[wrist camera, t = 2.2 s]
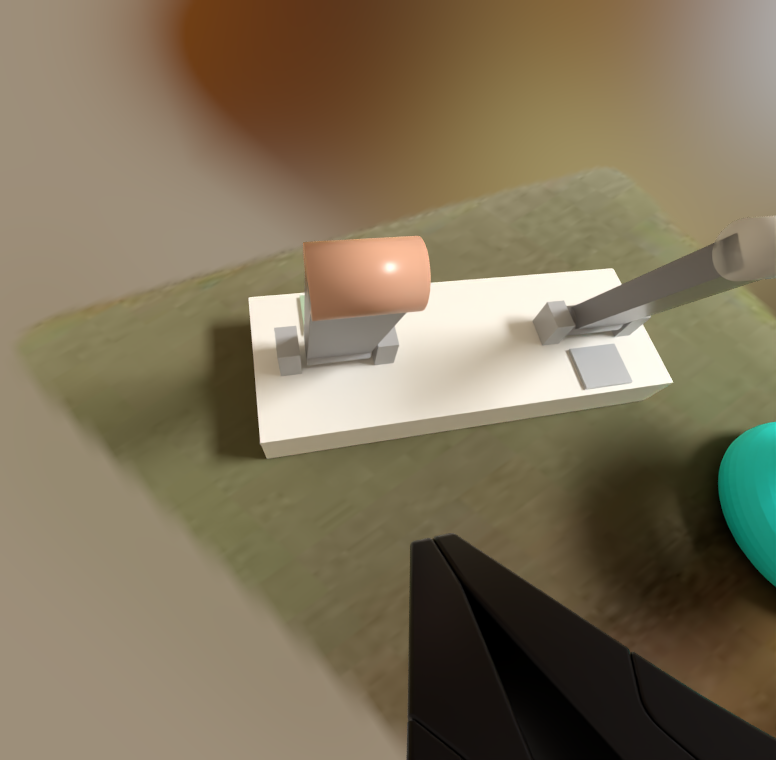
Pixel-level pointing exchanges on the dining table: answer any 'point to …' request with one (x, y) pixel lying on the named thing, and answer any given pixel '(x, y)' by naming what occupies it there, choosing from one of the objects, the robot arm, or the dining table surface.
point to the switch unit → (449, 364)
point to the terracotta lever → (360, 293)
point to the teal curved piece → (752, 495)
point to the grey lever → (686, 278)
